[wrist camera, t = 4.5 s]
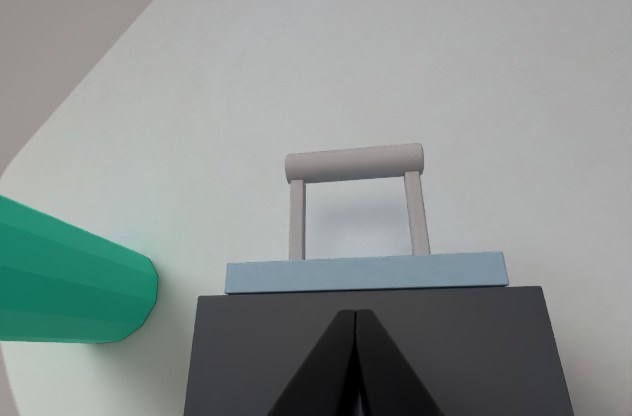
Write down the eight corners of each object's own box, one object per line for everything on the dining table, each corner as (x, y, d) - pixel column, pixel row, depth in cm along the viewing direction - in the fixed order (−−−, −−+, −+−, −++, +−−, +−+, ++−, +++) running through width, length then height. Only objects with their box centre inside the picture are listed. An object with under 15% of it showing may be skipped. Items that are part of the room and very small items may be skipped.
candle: (57, 335, 22) (-259, 319, 11) (94, 244, 24) (-140, 155, 13) (139, 351, 21) (-123, 352, 10) (170, 255, 23) (-16, 166, 12)
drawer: (275, 207, 22) (237, 151, 16) (445, 196, 21) (476, 130, 14) (261, 520, 16) (191, 628, 10) (500, 535, 15) (595, 672, 8)
